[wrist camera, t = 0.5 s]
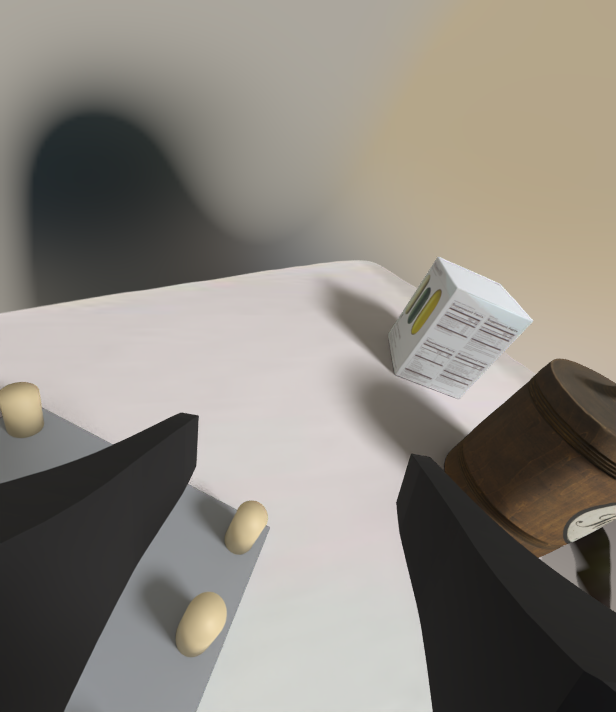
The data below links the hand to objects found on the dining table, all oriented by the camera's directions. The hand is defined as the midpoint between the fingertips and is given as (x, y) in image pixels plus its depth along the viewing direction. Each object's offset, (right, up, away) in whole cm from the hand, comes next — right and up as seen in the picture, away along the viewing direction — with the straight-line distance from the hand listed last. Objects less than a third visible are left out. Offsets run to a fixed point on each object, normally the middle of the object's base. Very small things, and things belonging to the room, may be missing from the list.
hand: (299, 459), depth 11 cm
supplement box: (+21, +2, +51) cm, 56 cm away
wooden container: (+24, -15, +32) cm, 43 cm away
